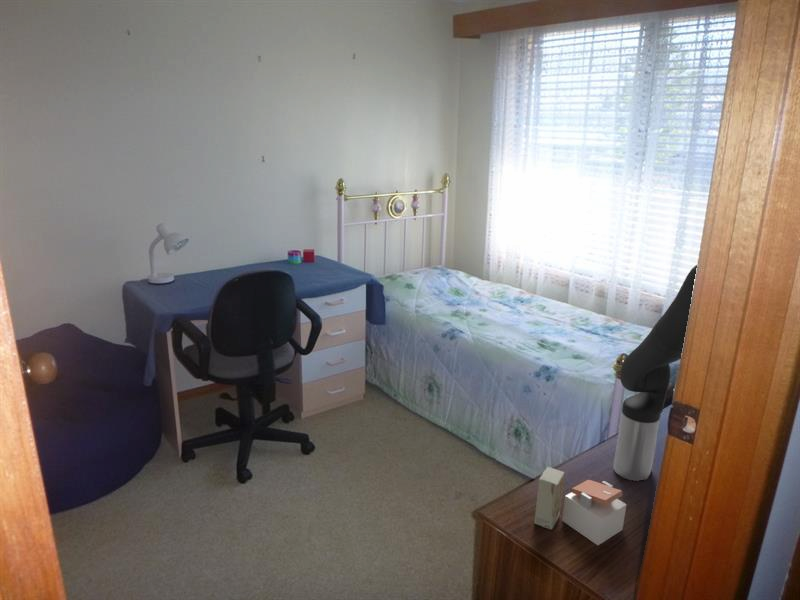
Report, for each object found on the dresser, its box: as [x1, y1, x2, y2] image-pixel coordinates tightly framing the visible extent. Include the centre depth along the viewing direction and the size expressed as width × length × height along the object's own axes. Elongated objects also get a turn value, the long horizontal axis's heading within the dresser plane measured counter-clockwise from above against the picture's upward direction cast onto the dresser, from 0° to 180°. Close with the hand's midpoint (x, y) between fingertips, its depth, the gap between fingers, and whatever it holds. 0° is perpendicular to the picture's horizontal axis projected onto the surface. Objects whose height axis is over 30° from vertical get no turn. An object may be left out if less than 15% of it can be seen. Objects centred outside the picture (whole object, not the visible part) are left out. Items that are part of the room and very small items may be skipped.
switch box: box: [561, 480, 627, 546], centre depth 137 cm, size 9×10×10 cm
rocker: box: [571, 479, 623, 505], centre depth 135 cm, size 6×9×2 cm, turn 36°
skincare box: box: [534, 466, 565, 530], centre depth 138 cm, size 6×4×12 cm
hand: (666, 483), depth 120 cm, fingers closed
